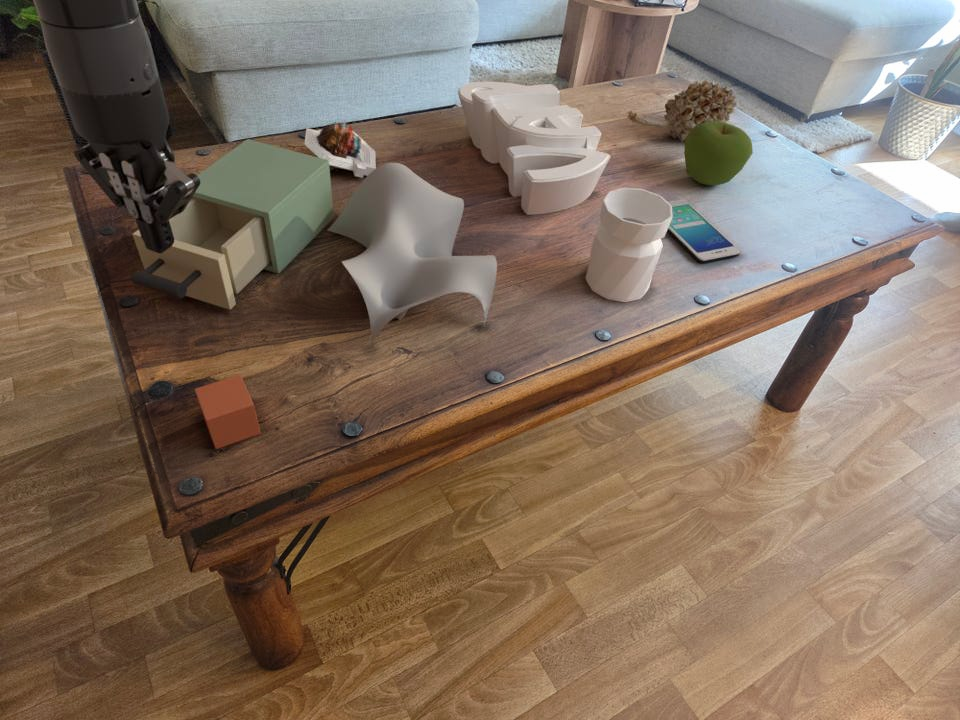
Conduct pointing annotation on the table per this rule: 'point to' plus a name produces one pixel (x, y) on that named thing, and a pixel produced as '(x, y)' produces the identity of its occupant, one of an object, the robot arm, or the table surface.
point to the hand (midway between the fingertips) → (160, 247)
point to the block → (228, 411)
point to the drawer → (206, 254)
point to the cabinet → (273, 194)
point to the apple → (716, 152)
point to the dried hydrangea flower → (692, 109)
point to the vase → (627, 243)
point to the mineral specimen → (341, 148)
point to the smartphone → (699, 234)
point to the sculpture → (408, 245)
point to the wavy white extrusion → (534, 143)
